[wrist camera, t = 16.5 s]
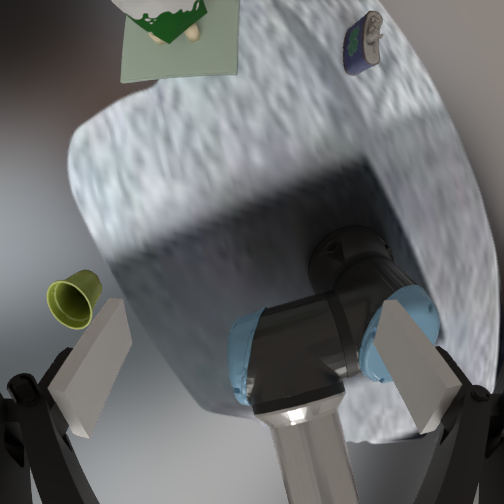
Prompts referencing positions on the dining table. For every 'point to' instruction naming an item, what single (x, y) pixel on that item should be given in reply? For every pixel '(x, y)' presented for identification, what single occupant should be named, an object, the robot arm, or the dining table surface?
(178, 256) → the dining table surface
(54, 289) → the plant pot
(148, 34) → the peg stand
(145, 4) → the soya milk
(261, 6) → the dining table surface
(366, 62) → the flask
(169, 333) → the dining table surface
